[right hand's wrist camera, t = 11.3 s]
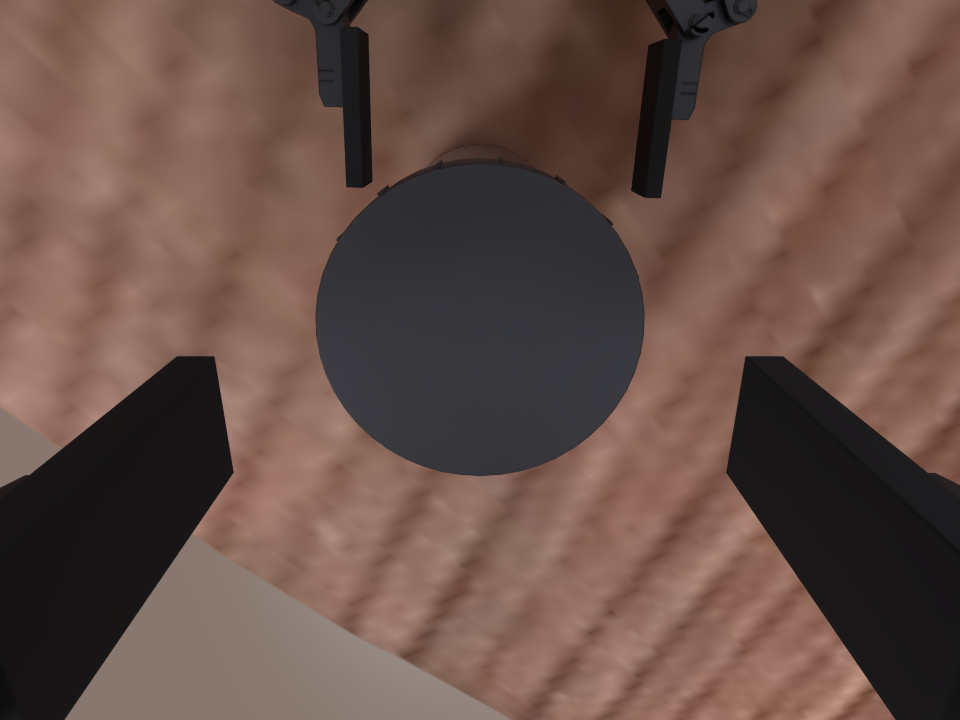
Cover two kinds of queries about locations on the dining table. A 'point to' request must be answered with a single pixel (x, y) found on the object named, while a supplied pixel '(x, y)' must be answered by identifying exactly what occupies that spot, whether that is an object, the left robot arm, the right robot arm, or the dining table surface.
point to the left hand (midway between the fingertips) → (503, 190)
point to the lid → (480, 317)
